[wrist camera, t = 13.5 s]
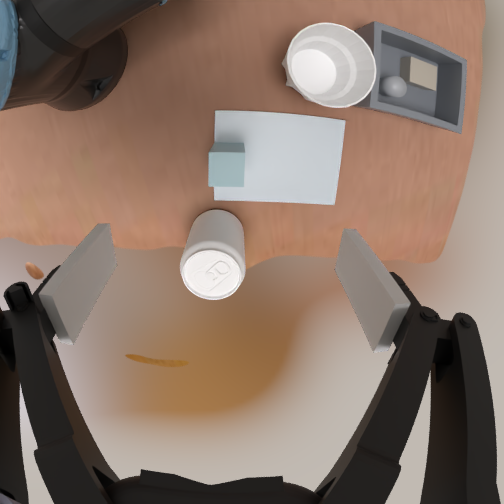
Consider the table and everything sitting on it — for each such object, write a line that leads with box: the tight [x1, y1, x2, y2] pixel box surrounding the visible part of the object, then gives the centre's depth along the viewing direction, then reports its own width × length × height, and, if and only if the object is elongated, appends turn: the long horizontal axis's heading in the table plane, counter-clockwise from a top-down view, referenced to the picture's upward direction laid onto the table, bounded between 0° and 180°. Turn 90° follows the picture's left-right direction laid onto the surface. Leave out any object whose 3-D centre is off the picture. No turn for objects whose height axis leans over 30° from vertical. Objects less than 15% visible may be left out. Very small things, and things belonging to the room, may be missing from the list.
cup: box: [282, 23, 376, 108], centre depth 29 cm, size 10×10×10 cm
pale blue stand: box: [209, 110, 345, 205], centre depth 35 cm, size 18×13×9 cm
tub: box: [351, 21, 467, 134], centre depth 30 cm, size 16×12×7 cm
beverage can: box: [180, 210, 245, 300], centre depth 39 cm, size 8×8×12 cm
